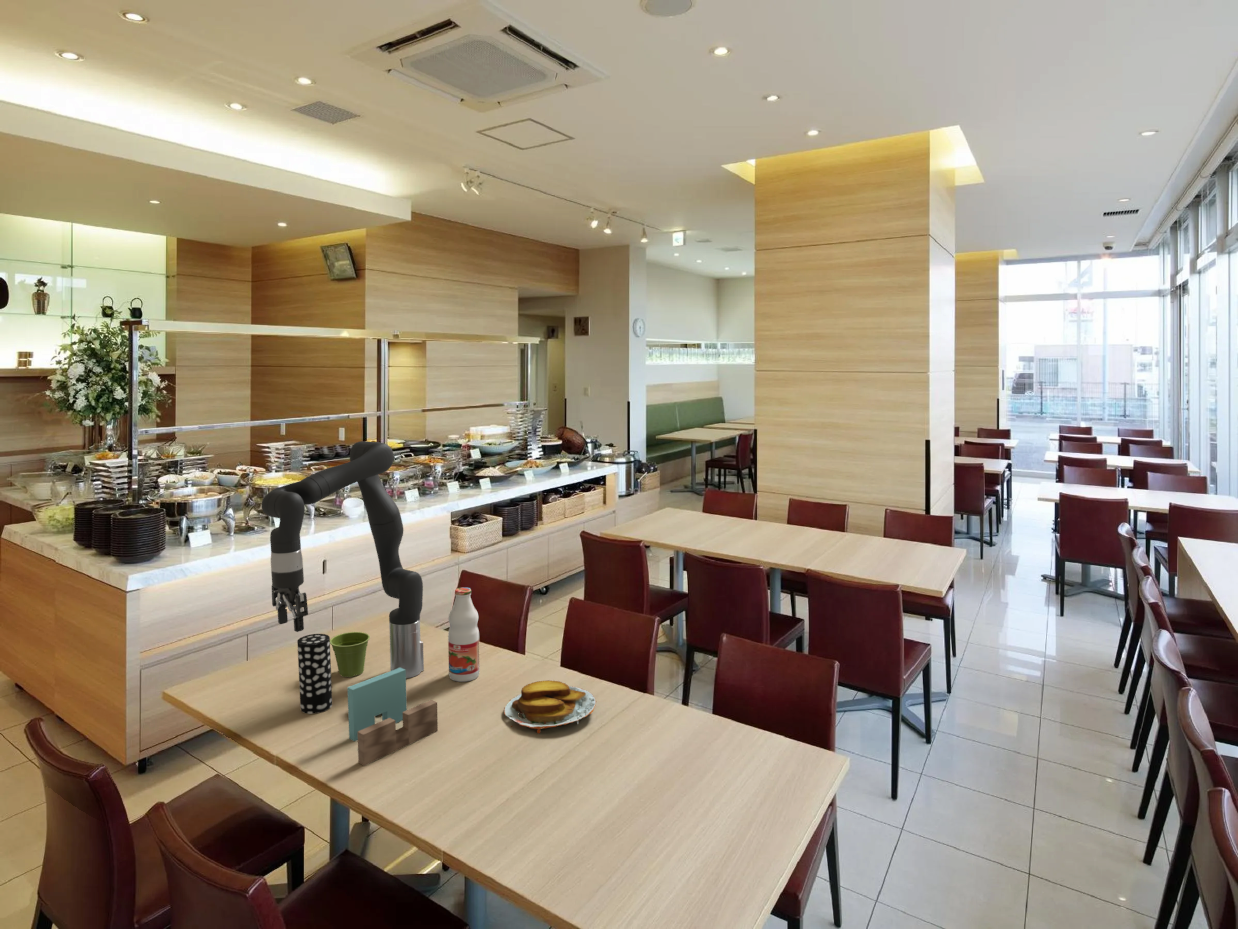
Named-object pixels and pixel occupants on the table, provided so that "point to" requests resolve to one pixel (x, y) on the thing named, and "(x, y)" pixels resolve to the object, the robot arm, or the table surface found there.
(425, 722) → the walnut board
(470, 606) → the fruit juice
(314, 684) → the spotted tube
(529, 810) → the table surface
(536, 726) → the food on plate
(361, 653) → the plant pot
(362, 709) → the teal plate
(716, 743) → the table surface
